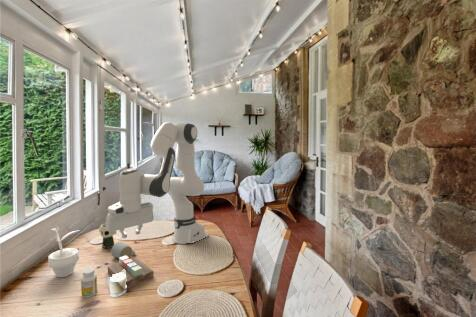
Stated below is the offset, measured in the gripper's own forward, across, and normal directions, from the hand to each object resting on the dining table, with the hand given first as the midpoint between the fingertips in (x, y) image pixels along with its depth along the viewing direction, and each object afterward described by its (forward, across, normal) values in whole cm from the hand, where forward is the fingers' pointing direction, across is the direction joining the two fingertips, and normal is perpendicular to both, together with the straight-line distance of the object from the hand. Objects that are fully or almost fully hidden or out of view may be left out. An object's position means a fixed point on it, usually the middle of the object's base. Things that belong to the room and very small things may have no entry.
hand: (131, 235), depth 112 cm
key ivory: (+16, 0, -9) cm, 19 cm away
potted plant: (+19, +20, -24) cm, 37 cm away
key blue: (+16, 0, 0) cm, 17 cm away
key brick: (+16, 0, -4) cm, 17 cm away
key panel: (+19, 0, -2) cm, 19 cm away
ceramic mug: (+20, -5, -22) cm, 30 cm away
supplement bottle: (+19, +17, 0) cm, 26 cm away
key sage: (+16, 0, +5) cm, 17 cm away
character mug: (+19, -4, -41) cm, 45 cm away
